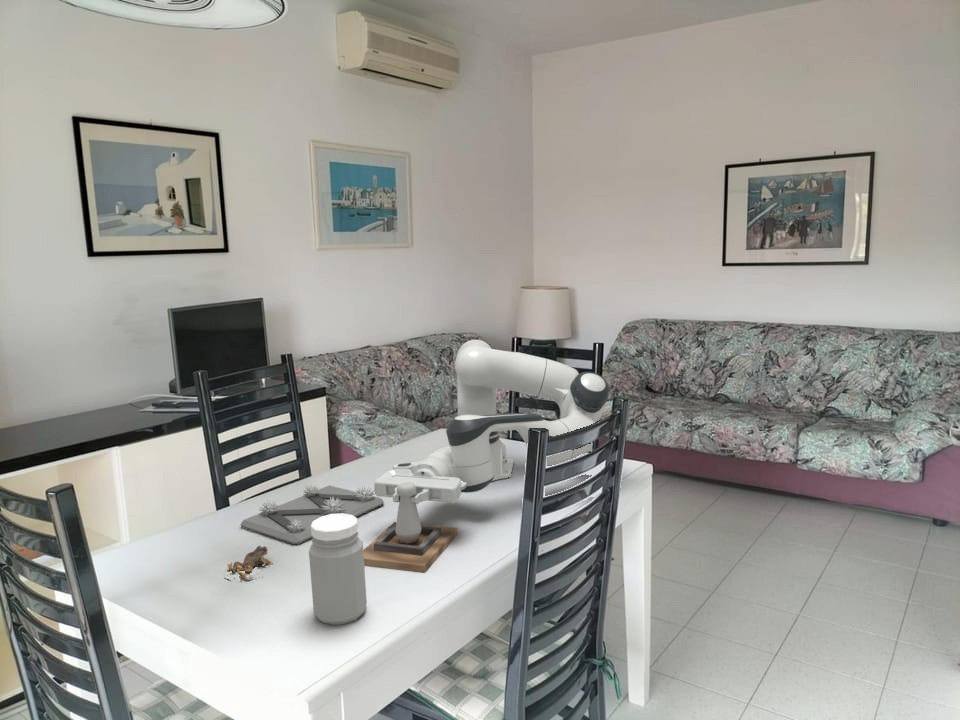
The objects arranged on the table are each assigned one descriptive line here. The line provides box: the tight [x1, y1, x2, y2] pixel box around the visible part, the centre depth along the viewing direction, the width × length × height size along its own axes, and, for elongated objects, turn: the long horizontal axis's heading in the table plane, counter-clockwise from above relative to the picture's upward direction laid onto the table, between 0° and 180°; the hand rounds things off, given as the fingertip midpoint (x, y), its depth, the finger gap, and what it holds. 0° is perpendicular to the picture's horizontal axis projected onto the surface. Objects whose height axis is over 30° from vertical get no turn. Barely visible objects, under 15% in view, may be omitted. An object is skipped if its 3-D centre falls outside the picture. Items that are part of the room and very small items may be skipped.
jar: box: [308, 513, 368, 626], centre depth 130 cm, size 10×10×18 cm
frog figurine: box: [225, 545, 274, 583], centre depth 151 cm, size 12×12×4 cm
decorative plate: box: [240, 484, 385, 545], centre depth 179 cm, size 30×22×7 cm
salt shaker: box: [395, 482, 422, 544], centre depth 156 cm, size 6×6×13 cm
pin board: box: [363, 521, 458, 573], centre depth 158 cm, size 20×16×3 cm
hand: (404, 499), depth 155 cm, fingers closed on salt shaker, 3 cm apart
